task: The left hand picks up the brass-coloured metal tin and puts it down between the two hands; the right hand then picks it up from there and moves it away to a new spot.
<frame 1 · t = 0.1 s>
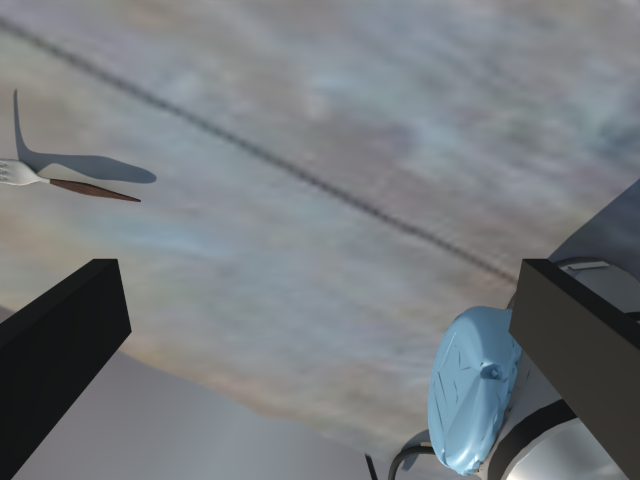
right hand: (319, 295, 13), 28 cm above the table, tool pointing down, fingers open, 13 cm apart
fork: (66, 182, 40), on the table
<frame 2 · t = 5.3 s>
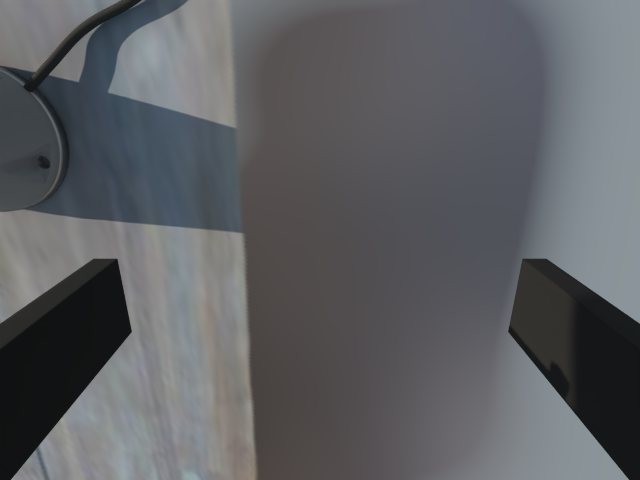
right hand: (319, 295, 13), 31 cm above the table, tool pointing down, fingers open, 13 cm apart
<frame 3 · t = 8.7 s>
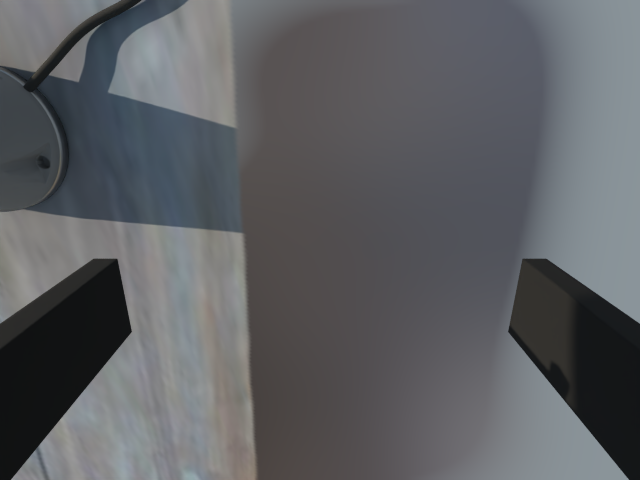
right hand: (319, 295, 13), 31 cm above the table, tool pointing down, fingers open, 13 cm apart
when the left hand's fingers open (5 cm above the table, at t = 12.5 s): tin drops 2 cm, on the table.
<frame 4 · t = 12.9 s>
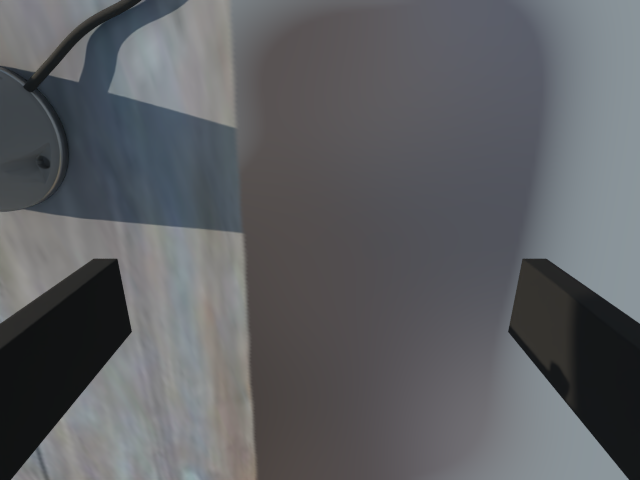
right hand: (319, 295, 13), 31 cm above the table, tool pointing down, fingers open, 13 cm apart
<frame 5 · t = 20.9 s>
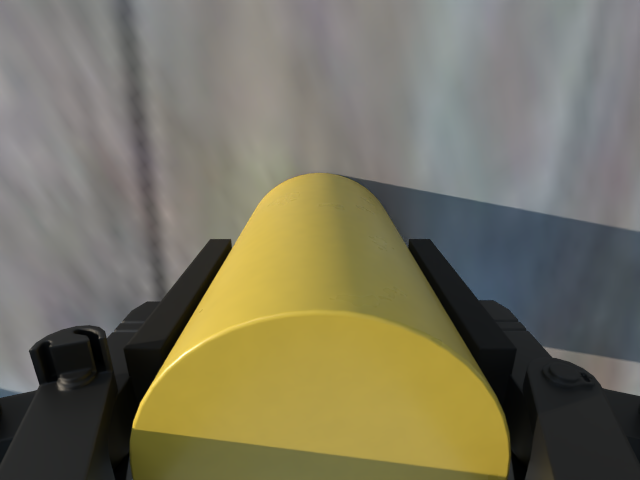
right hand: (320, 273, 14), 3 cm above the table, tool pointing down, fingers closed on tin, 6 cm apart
tin: (320, 245, 17), on the table, touching right hand
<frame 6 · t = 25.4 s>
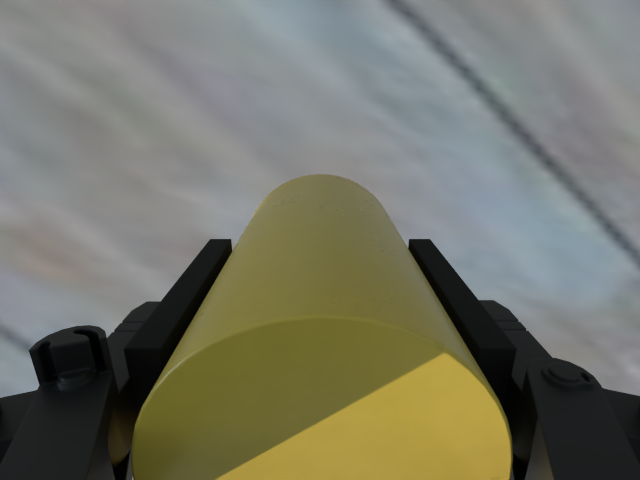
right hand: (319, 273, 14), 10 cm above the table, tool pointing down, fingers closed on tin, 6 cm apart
tin: (320, 246, 17), point 8 cm above the table, touching right hand
when the right hand's fingers open (5 cm above the table, at t = 29.9 s): tin drops 2 cm, on the table.
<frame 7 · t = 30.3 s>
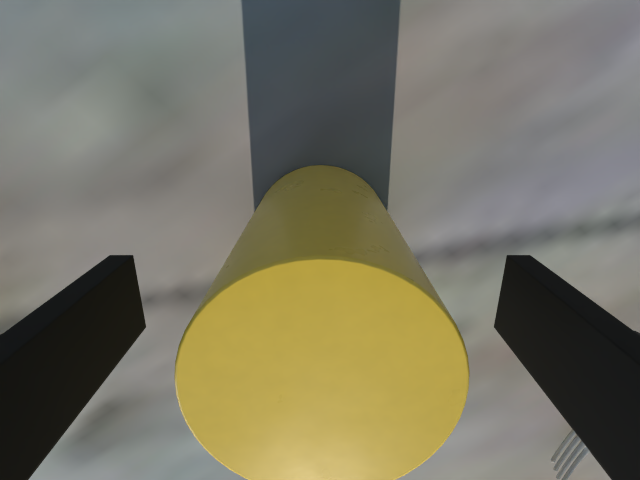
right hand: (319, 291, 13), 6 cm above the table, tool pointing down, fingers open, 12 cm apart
tin: (320, 230, 19), on the table
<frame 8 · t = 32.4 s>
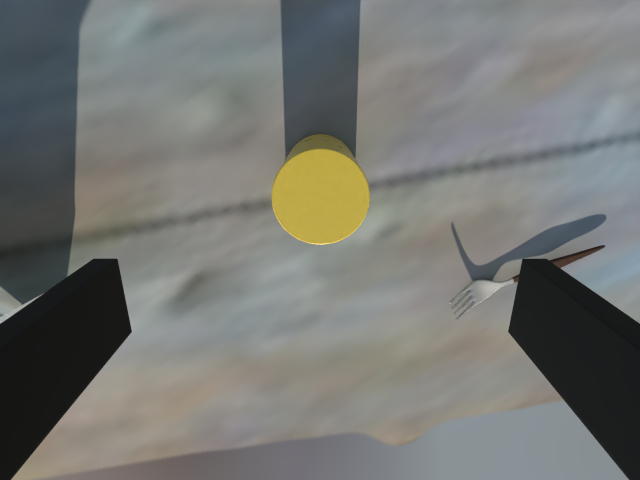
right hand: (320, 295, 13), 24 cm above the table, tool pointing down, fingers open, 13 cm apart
fork: (520, 273, 39), on the table
tin: (320, 170, 35), on the table
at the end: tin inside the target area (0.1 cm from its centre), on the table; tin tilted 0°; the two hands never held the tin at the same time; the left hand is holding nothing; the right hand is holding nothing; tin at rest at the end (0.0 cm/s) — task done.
